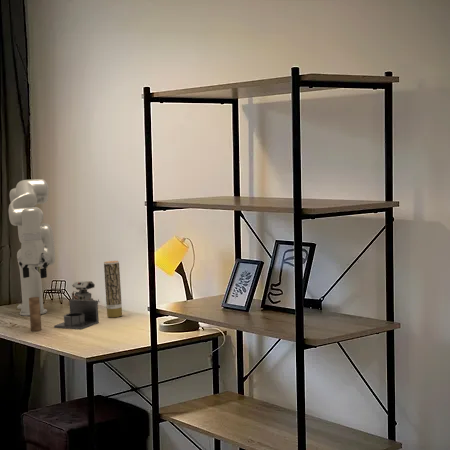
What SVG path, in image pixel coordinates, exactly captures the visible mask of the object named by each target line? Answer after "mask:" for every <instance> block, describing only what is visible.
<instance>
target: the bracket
mask: <svg viewBox="0 0 450 450" xmlns="http://www.w3.org/2000/svg"><path fill="white" fill-rule="evenodd" d="M97 301H98V300H96V299H93V300H75V299H72V298H71V299H69V301H68V303H69V313H66V314H64V315H63V322H60V323H58V324H55V325H54V327H53V328H55V329H68V330H83V329H87V328H90V327H92V326H94V325H97V324H99V310H98V309H99V302H98V303H97Z"/></svg>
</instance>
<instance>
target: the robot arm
mask: <svg viewBox="0 0 450 450" xmlns="http://www.w3.org/2000/svg"><path fill="white" fill-rule="evenodd" d="M49 194H50V188H49V184H48V182H47V181H46V180H45V179H42V178H38V179H37V178H36V179H34V178H33V179H23V180H20V181H19V182H17V184H16V186H15V187H14V188H12V189H10V191H9V201H10V204H9V205H8V218H9V222H10V224H11V225H12V226H15V227H16V226H17V233H18V235H17V236H18V239H19V242H20V243H21V245H20V249H18V251H17V252H16V253H17V254H16V258H17V262H18V263H17V264H18V268H19V274H20V287H21V291H20V292H21V303H18V305H17V306H16V309H18V310H20V311H19V315H20V316H23V317H24V316H25V317H30V309H29V298H31V297H39V300H40V314H41V315H44V314H46V313H48V309H46V308H44V299H43V297H44V295H43V281H42V279H44V278H45V279H47V277H48V273H47V268H48V267H50V266H53V265H54V264H55V262H56V248H55V241H54V231H53V228H52V226H51V225H50V224H49V223H45V222H43V221H44V212H43V210H42V209H41V208H39V207H37V206H36V205H43V204H45V203H47V202H48V199H49ZM42 222H43V223H42ZM36 267H37V268H38V267H40V269H39V271H38V270H37V269H36Z"/></svg>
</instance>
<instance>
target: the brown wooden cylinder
mask: <svg viewBox="0 0 450 450" xmlns="http://www.w3.org/2000/svg"><path fill="white" fill-rule="evenodd" d="M29 309H30V316H29V322H30V331H31V332H41V331H42V319H41V315H42V314H40V300H39V297H31V298H29Z"/></svg>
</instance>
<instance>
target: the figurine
mask: <svg viewBox="0 0 450 450" xmlns="http://www.w3.org/2000/svg"><path fill="white" fill-rule="evenodd" d="M71 286H72V288H75V289H76V290H77V291H74V290H73V292H71V299H75V300H94V298H93V297H92V293H91V292H89V291H88V290H91V289H94V288H95V283H94V282H93V281H91V280H90V281H89V280H88V281H87V280H86V281H85V280H84V281H83V280H81V281H74V282H73V283H72V284H71ZM97 303H98V304H99V303H100V299H99V298H98V300H97Z"/></svg>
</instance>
